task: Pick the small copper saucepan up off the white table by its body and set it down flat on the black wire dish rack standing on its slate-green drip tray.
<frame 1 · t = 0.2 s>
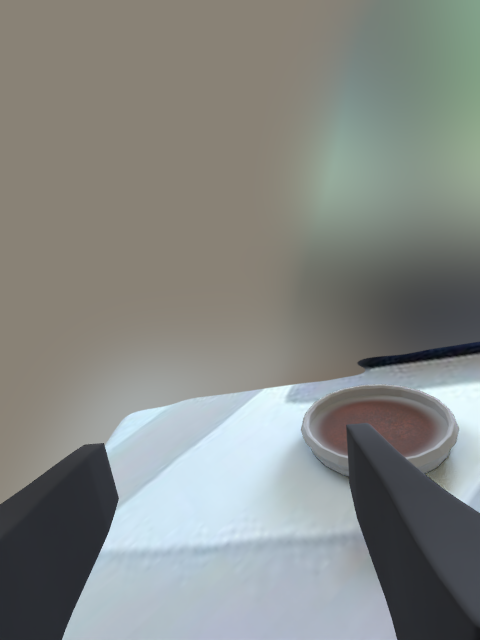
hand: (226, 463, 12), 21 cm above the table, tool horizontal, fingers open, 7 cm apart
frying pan: (387, 468, 41), on the table
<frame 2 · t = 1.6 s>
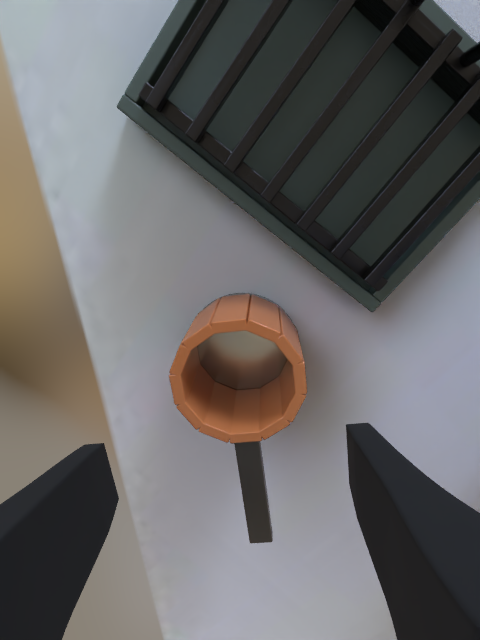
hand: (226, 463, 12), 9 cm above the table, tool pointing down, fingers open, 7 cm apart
dish rack: (324, 119, 17), on the table
saucepan: (243, 345, 21), on the table
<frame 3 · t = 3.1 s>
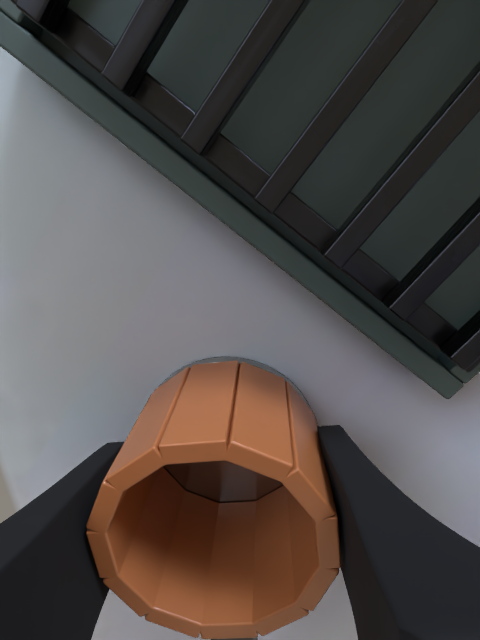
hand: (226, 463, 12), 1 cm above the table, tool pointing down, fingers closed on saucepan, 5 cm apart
dish rack: (369, 62, 10), on the table
saucepan: (229, 435, 13), on the table, touching gripper
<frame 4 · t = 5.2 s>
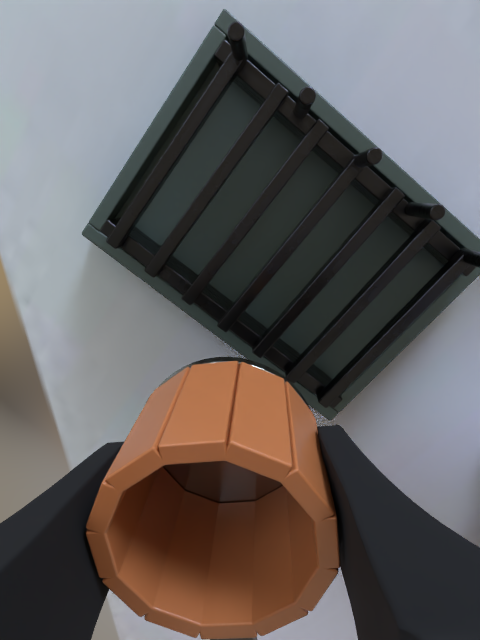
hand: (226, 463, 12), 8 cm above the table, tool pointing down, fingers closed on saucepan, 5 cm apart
dish rack: (283, 240, 18), on the table
saucepan: (228, 435, 13), point 7 cm above the table, touching gripper
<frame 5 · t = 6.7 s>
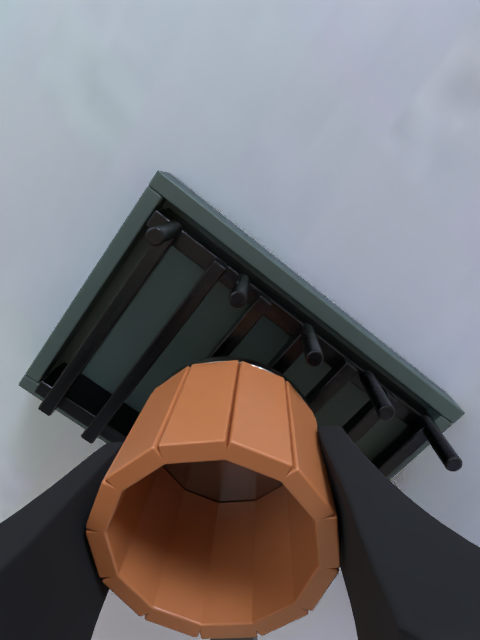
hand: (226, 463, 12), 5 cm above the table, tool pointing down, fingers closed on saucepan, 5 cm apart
dish rack: (238, 381, 17), on the table
saucepan: (228, 434, 13), point 4 cm above the table, touching gripper
when the fingers open (4 cm above the table, at t = 7.5 s): saucepan stays where it is, resting on dish rack.
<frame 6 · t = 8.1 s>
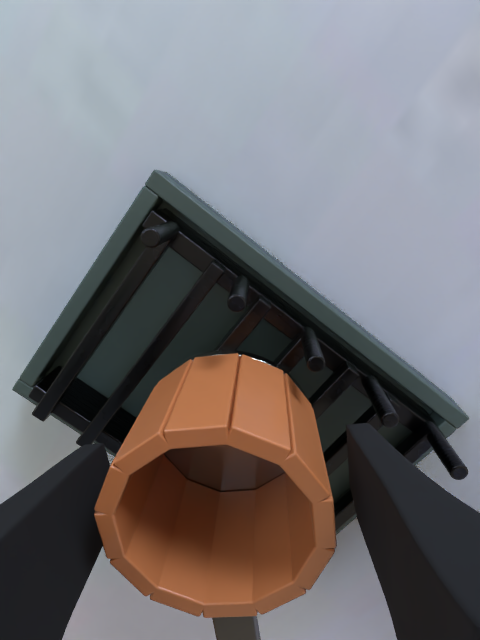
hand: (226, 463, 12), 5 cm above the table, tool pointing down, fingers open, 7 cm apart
dish rack: (237, 385, 16), on the table
saucepan: (229, 426, 14), point 3 cm above the table, touching dish rack
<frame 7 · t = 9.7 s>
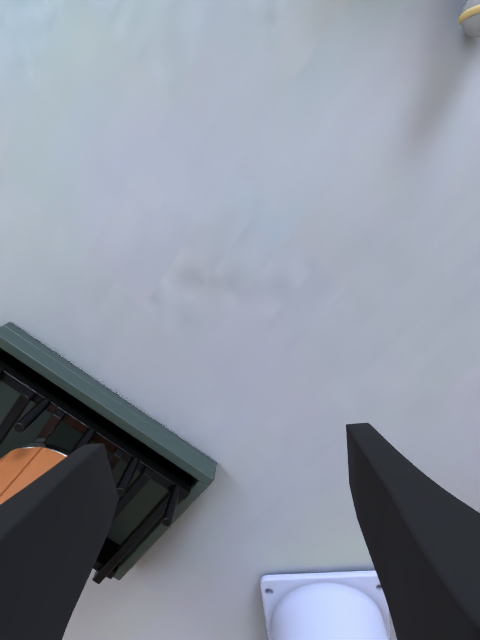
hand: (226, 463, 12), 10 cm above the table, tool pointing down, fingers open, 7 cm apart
dish rack: (74, 452, 24), on the table
saucepan: (47, 487, 21), point 3 cm above the table, touching dish rack
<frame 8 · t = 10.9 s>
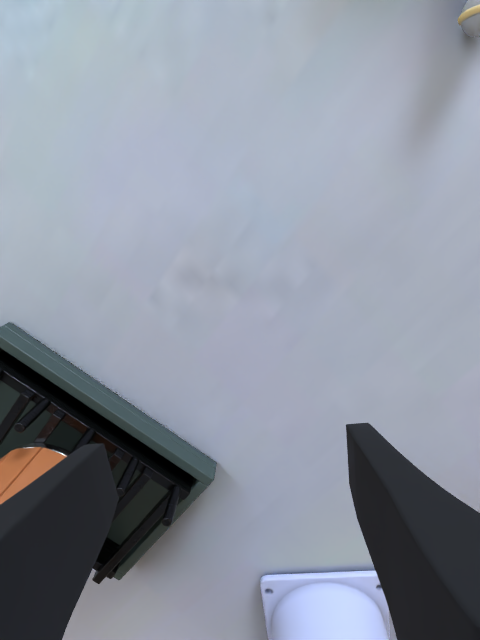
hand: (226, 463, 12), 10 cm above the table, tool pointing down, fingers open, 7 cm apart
dish rack: (74, 452, 24), on the table
saucepan: (47, 487, 21), point 3 cm above the table, touching dish rack
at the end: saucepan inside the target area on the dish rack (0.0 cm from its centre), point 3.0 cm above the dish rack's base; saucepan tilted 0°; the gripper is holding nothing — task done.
